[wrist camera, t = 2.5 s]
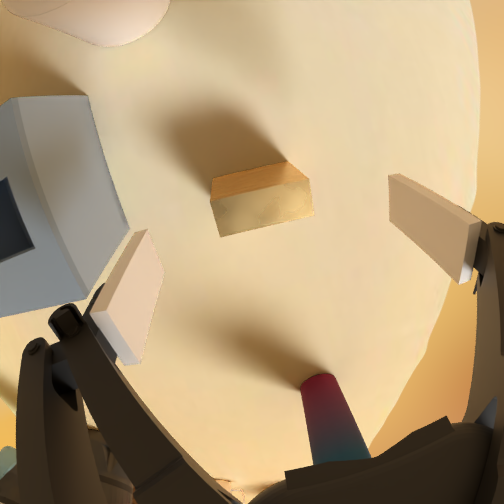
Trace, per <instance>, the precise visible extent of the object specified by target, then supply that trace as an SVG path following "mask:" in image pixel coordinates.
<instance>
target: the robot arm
mask: <svg viewBox="0 0 504 504" xmlns="http://www.w3.org/2000/svg"><path fill="white" fill-rule="evenodd" d="M388 180H389V216H390V222H391V223H393V224H394V225H395V226H396V227H397V228H398V229H400V230H401V231H402V232H403V233H404V234H405V235H407V236H408V237H409V238H410V239H411V240H412V241H413V242H414V243H416V244H417V245H418V246H419V247H420V248H421V249H422V250H423V251H424V252H425V253H426V254H428V255H429V256H430V257H431V258H432V259H433V260H434V261H435V262H436V263H437V264H438V265H439V266H440V267H441V268H442V269H443V270H444V271H445V272H446V273H447V274H448V275H449V276H450V277H451V278H453V280H455V282H456V283H457V284H458V285H459V284H461V283H464V282H466V281H469V280H471V275H472V271H473V267H474V268H475V269H476V270H477V271H478V272H479V273H478V277H477V281H476V285H475V289H474V292H473V294H475V293H476V291H477V330H476V346H475V357H474V367H473V375H472V382H471V389H470V395H469V400H468V406H467V410H466V413H465V416H464V418H463V420H462V422H459V423H452V424H451V423H450V421H449V420H448V418H447V416H445V417H443V418H441V419H439V420H437V421H435V422H433V423H431V424H429V425H427V426H425V427H423V428H421V429H418V430H416V431H414V432H412V433H411V434H409V435H408V436H407V437H405V438H404V439H402V440H401V441H400V442H398V443H397V444H395V445H394V446H392V447H391V448H390V449H388V450H387V451H385V452H384V453H382V454H380V455H379V456H377V457H374V458H368V459H358V460H345V461H328V462H324V463H320V464H316V465H312V466H308V467H303V468H298V469H294V470H288V471H284V472H285V478H286V479H285V480H283V481H281V482H278V483H276V484H274V485H272V486H271V487H269V488H267V489H266V490H264V491H263V492H261V493H260V494H258V495H257V496H256V497H255V498H254V499H252V500H251V501H250V502H249V503H248V504H504V224H502V223H499V222H493V223H490V224H486V223H485V222H483V221H482V220H480V219H479V218H477V217H476V216H474V215H472V214H471V213H470V212H468V211H466V210H465V209H463V208H462V207H460V206H458V205H456V204H454V203H452V202H451V201H449V200H447V199H446V198H444V197H442V196H440V195H439V194H437V193H435V192H433V191H432V190H430V189H428V188H426V187H424V186H422V185H421V184H419V183H417V182H415V181H413V180H411V179H409V178H407V177H405V176H403V175H401V174H394V175H388ZM164 275H165V271H164V269H163V266H162V264H161V261H160V259H159V256H158V254H157V251H156V249H155V246H154V244H153V241H152V239H151V236H150V234H149V231H148V229H146V230H142V231H138V232H135V233H134V235H133V236H132V238H131V240H130V241H129V243H128V245H127V246H126V248H125V250H124V251H123V253H122V255H121V256H120V258H119V260H118V261H117V263H116V265H115V267H114V268H113V270H112V272H111V274H110V276H109V277H108V279H107V281H106V283H103V284H102V285H101V286H100V287H99V288H98V289H97V290H96V292H95V294H94V296H93V299H91V301H90V303H89V305H88V307H87V309H86V311H85V313H84V314H83V316H82V315H81V313H80V312H79V310H78V308H77V307H76V305H75V304H72V303H69V304H65V305H63V306H61V307H59V308H58V309H57V310H56V311H54V312H53V314H52V315H51V316H50V318H49V320H48V324H49V326H50V327H51V329H52V330H53V332H54V333H55V335H56V336H57V337H58V339H59V340H60V341H59V342H57V343H55V344H52V345H50V346H49V344H48V343H47V341H46V340H45V339H44V338H41V337H39V338H36V339H34V340H33V341H30V342H29V343H28V344H27V345H26V348H25V349H24V351H23V354H22V360H21V367H20V375H19V385H18V396H17V411H16V449H15V448H13V447H10V446H6V447H4V448H3V449H2V450H1V451H0V504H132V498H133V496H134V499H135V501H136V502H137V504H243V503H242V502H240V501H239V500H238V499H237V498H235V497H234V496H233V495H232V494H230V493H229V492H228V491H227V490H225V489H224V488H223V487H222V486H221V485H220V484H218V483H217V482H216V481H215V480H214V479H213V478H212V477H211V476H210V475H209V474H208V473H207V472H206V471H205V470H204V469H203V468H202V467H201V466H200V465H199V464H198V463H197V462H196V461H195V460H194V459H193V458H192V457H191V456H190V455H189V454H188V453H187V452H186V451H185V450H184V449H183V448H182V447H181V446H180V445H179V444H178V443H177V441H176V440H175V439H174V438H173V437H172V436H171V435H170V434H169V432H168V431H167V430H166V429H165V428H164V427H163V426H162V424H161V423H160V422H159V421H158V420H157V418H156V417H155V416H154V415H153V414H152V412H151V411H150V410H149V409H148V407H147V406H146V405H145V404H144V402H143V401H142V400H141V398H140V397H139V396H138V394H137V393H136V392H135V390H134V389H133V388H132V386H131V385H130V384H129V382H128V381H127V380H126V378H125V377H124V375H123V374H122V372H121V371H120V370H119V368H118V367H117V366H116V364H115V361H116V358H117V356H118V357H119V359H120V360H121V362H122V363H123V364H124V365H134V364H141V360H142V356H143V352H144V348H145V344H146V340H147V336H148V332H149V328H150V324H151V321H152V317H153V313H154V310H155V306H156V302H157V299H158V295H159V292H160V288H161V285H162V282H163V278H164ZM82 397H83V398H82ZM83 399H84V401H85V403H86V405H87V407H88V409H89V412H90V414H91V416H92V417H93V419H94V421H95V423H96V425H97V427H98V429H99V431H96V430H89V429H88V428H87V423H86V417H85V411H84V405H83ZM133 487H135V491H134V492H133Z"/></svg>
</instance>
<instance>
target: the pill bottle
mask: <svg viewBox="0 0 504 504" xmlns="http://www.w3.org/2000/svg"><path fill="white" fill-rule="evenodd" d="M1 1H2V3H3V4H4V6H5V7H6V8H7V9H8V11H9V12H11V13H12V14H14V15H16V16H19V17H21V18H25V19H28V20H31V21H34V22H37V23H39V24H42V25H45V26H48V27H51V28H53V29H56V30H59V31H61V32H64V33H66V34H69V35H71V36H74V37H76V38H79V39H81V40H83V41H86V42H88V43H90V44H93V45H97V46H102V47H115V46H121V45H125V44H128V43H130V42H133V41H135V40H137V39H139V38H141V37H142V36H144V35H145V34H147V33H148V32H150V31H151V30H152V29H153V28H154V27H155V26H156V25H157V24H158V23H159V22H160V21H161V19H162V18H163V17H164V15H165V13H166V12H167V10H168V7H169V5H170V1H171V0H1Z"/></svg>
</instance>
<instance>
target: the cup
mask: <svg viewBox="0 0 504 504" xmlns="http://www.w3.org/2000/svg"><path fill="white" fill-rule="evenodd" d="M300 390H301V396H302V401H303V407H304V412H305V418H306V424H307V430H308V435H309V441H310V447H311V453H312V459H313V465H316V464H320V463H324V462H328V461H345V460H358V459H368V458H371V455H370V453H369V451H368V448H367V446H366V444H365V442H364V439H363V437H362V435H361V433H360V431H359V428H358V426H357V424H356V422H355V419H354V417H353V415H352V413H351V411H350V408H349V406H348V404H347V402H346V400H345V398H344V395H343V393H342V391H341V389H340V387H339V385H338V382H337V380H336V378H335V377H334V376H333V375H331V374H319V375H315V376H313V377H311V378H309V379H307V380H306V381H305V382H304V383H303V384H302V385H301V388H300Z"/></svg>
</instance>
